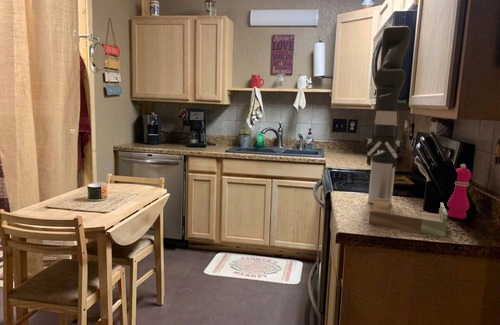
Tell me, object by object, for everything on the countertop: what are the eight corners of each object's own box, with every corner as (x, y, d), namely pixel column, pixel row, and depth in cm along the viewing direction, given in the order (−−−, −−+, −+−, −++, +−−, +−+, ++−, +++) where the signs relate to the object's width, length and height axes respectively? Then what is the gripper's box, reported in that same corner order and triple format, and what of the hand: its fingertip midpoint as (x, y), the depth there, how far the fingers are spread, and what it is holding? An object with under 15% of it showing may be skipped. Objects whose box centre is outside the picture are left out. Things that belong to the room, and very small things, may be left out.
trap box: (373, 211, 139) (375, 193, 138) (441, 221, 130) (443, 202, 129) (368, 224, 124) (370, 204, 123) (445, 236, 115) (447, 215, 114)
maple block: (373, 211, 131) (374, 197, 130) (388, 213, 129) (389, 199, 128) (372, 214, 126) (373, 200, 126) (387, 217, 124) (388, 202, 124)
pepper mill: (443, 215, 138) (449, 163, 135) (449, 212, 143) (455, 161, 140) (464, 220, 133) (471, 166, 130) (470, 216, 138) (477, 164, 135)
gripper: (406, 124, 137) (401, 167, 139) (366, 122, 143) (362, 163, 145) (405, 124, 130) (401, 169, 132) (364, 122, 136) (360, 165, 138)
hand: (381, 166), depth 138 cm, fingers open, 8 cm apart
